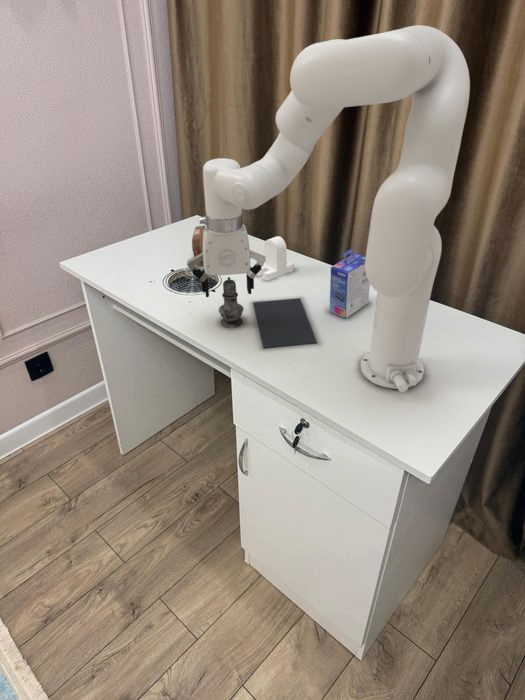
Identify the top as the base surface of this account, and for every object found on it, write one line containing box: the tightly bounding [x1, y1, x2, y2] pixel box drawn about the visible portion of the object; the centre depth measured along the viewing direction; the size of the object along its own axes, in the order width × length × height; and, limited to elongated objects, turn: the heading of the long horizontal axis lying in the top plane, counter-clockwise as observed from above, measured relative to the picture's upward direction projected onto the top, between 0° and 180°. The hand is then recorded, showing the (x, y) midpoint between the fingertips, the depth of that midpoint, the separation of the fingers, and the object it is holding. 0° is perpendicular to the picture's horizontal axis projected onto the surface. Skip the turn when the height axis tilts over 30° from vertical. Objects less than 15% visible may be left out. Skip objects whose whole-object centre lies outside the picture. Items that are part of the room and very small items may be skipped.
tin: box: [191, 225, 206, 265], centre depth 148 cm, size 15×3×8 cm, turn 179°
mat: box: [252, 297, 318, 349], centre depth 121 cm, size 20×12×1 cm, turn 7°
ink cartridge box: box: [329, 248, 371, 319], centre depth 121 cm, size 10×6×14 cm, turn 137°
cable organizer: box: [255, 235, 295, 281], centre depth 139 cm, size 5×10×10 cm, turn 128°
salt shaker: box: [218, 276, 245, 329], centre depth 118 cm, size 6×6×12 cm
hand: (228, 292), depth 117 cm, fingers open, 9 cm apart
